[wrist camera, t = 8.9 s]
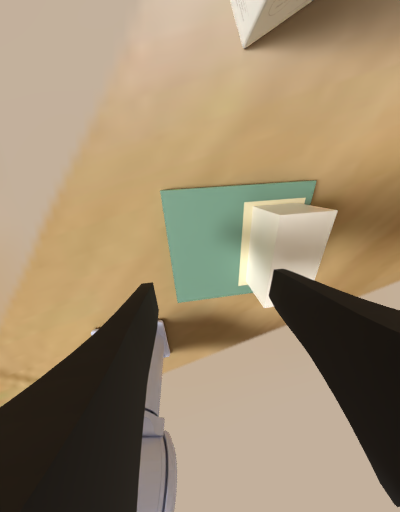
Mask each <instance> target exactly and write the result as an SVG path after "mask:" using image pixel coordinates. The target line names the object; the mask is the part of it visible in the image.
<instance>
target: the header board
mask: <svg viewBox="0 0 400 512" xmlns="http://www.w3.org/2000/svg"><path fill="white" fill-rule="evenodd" d="M315 185H316V181H294V182H279V183H264V184H248V185H233V186H217V187H202V188H187V189H171V190H161V191H160V193H161V199H162V205H163V212H164V218H165V225H166V231H167V237H168V244H169V250H170V257H171V263H172V269H173V276H174V282H175V289H176V295H177V301H178V303H181V302H188V301H195V300H203V299H210V298H218V297H225V296H232V295H240V294H247V293H253V291H252V290H251V288H250V287H249V285H248V284H247V282H246V273H247V263H248V253H249V242H250V232H251V221H252V211H253V206H262V205H275V204H288V203H300V204H306V205H310V204H311V200H312V197H313V193H314V189H315Z"/></svg>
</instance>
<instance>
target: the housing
mask: <svg viewBox="0 0 400 512" xmlns="http://www.w3.org/2000/svg"><path fill="white" fill-rule="evenodd" d="M337 212H338V210H334V209H328V208H323V207H317V206H311V205H306V204H300V203H288V204H275V205H262V206H253V211H252V221H251V232H250V242H249V253H248V263H247V273H246V282H247V284H248V285H249V287H250V288H251V290H252V291H253V293H254V294H255V296H256V297H257V298H258V300H259V301H260V303H261V304H262V306H263V307H264V308H267V307H274V305H273V304H272V302H271V300H270V298H269V291H270V286H271V281H272V276H273V271H274V269H286V270H289V271H292V272H295V273H297V274H300V275H302V276H305V277H307V278H310V279H312V280H315V277H316V274H317V271H318V268H319V265H320V262H321V259H322V256H323V253H324V250H325V247H326V244H327V241H328V238H329V235H330V232H331V229H332V226H333V223H334V220H335V217H336V215H337Z"/></svg>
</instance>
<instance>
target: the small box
mask: <svg viewBox="0 0 400 512" xmlns="http://www.w3.org/2000/svg"><path fill="white" fill-rule="evenodd" d="M312 1H313V0H230V2H231V7H232V10H233V14H234V18H235V21H236V25H237V29H238V32H239V36H240V40H241V43H242V47H243V48H246V47H248V46H249V45H251V44H252V43H253V42H255V41H256V40H258V39H259V38H261V37H262V36H263V35H265V34H266V33H268V32H269V31H271V30H272V29H273V28H275V27H276V26H278V25H279V24H281V23H282V22H283V21H285V20H286V19H288V18H289V17H290V16H292V15H293V14H295V13H296V12H298V11H299V10H300V9H302V8H303V7H305V6H306V5H307V4H309V3H310V2H312Z"/></svg>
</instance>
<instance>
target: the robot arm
mask: <svg viewBox="0 0 400 512" xmlns="http://www.w3.org/2000/svg"><path fill="white" fill-rule="evenodd" d="M269 298H270V300H271V302H272V304H273V305H274V307H275V309H276V310H277V312H278V313H279V315H280V316H281V317H282V319H283V320H284V321H285V323H286V324H287V325H288V327H289V328H290V329H291V331H292V332H293V333H294V334H295V336H296V337H297V339H298V340H299V341H300V342H301V344H302V345H303V346H304V348H305V349H306V351H307V352H308V353H309V355H310V357H311V358H312V360H313V361H314V363H315V365H316V366H317V368H318V369H319V371H320V372H321V374H322V376H323V377H324V379H325V381H326V382H327V384H328V386H329V388H330V389H331V391H332V393H333V394H334V396H335V398H336V399H337V401H338V403H339V405H340V407H341V408H342V410H343V412H344V414H345V416H346V417H347V419H348V421H349V423H350V425H351V427H352V428H353V430H354V432H355V434H356V436H357V438H358V440H359V442H360V444H361V446H362V448H363V450H364V451H365V453H366V455H367V457H368V459H369V461H370V463H371V465H372V467H373V469H374V471H375V473H376V475H377V478H378V480H379V482H380V484H381V485H382V486H383V488H384V489H385V491H386V492H387V494H388V495H389V497H390V498H391V500H392V501H393V503H394V504H395V505H396V506H397V507H400V310H396V309H393V308H389V307H386V306H383V305H380V304H377V303H374V302H370V301H367V300H364V299H361V298H359V297H356V296H353V295H350V294H348V293H345V292H342V291H339V290H337V289H334V288H332V287H329V286H327V285H324V284H322V283H319V282H317V281H314V280H312V279H310V278H307V277H305V276H302V275H300V274H297V273H295V272H292V271H289V270H286V269H274V271H273V276H272V281H271V286H270V291H269ZM158 311H159V310H158V305H157V300H156V295H155V290H154V285H153V283H144V284H141V285H140V286H139V287H138V288H137V290H136V291H135V292H134V293H133V294H132V295H131V296H130V297H129V299H128V300H127V301H126V302H125V303H124V304H123V305H122V306H121V307H120V308H119V310H118V311H117V312H116V313H115V314H114V315H113V316H112V317H111V318H110V319H109V320H108V321H107V322H106V323H105V324H104V325H103V326H102V327H101V328H100V329H94V330H92V332H91V335H92V336H91V337H90V338H89V339H88V340H86V341H85V342H84V343H83V344H82V345H81V346H80V347H78V348H77V349H76V350H75V351H74V352H72V353H71V354H70V355H69V356H68V357H66V358H65V359H64V360H63V361H61V362H60V363H59V364H57V365H56V366H55V367H54V368H52V369H51V370H50V371H49V372H47V373H46V374H45V375H43V376H42V377H41V378H40V379H38V380H37V381H36V382H34V383H33V384H32V385H30V386H29V387H28V388H26V389H25V390H24V391H22V392H21V393H20V394H18V395H17V396H15V397H14V398H13V399H11V400H10V401H9V402H7V403H6V404H4V405H3V406H1V407H0V512H174V508H175V500H176V487H177V463H176V454H175V448H174V445H173V443H172V439H171V436H170V434H169V433H168V432H167V431H164V418H162V417H159V406H160V393H161V381H162V368H163V358H164V357H169V356H170V349H169V345H168V340H167V336H166V332H165V327H164V323H163V321H162V320H158Z"/></svg>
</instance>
